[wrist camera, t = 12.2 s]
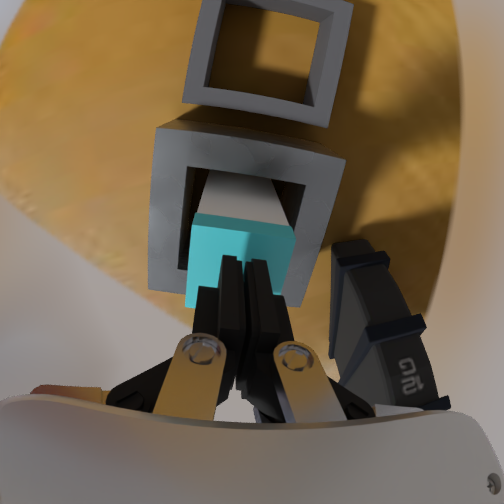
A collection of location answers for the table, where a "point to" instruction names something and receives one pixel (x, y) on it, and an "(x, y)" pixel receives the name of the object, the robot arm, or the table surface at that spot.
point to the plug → (237, 230)
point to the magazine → (377, 333)
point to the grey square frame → (321, 72)
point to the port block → (244, 162)
